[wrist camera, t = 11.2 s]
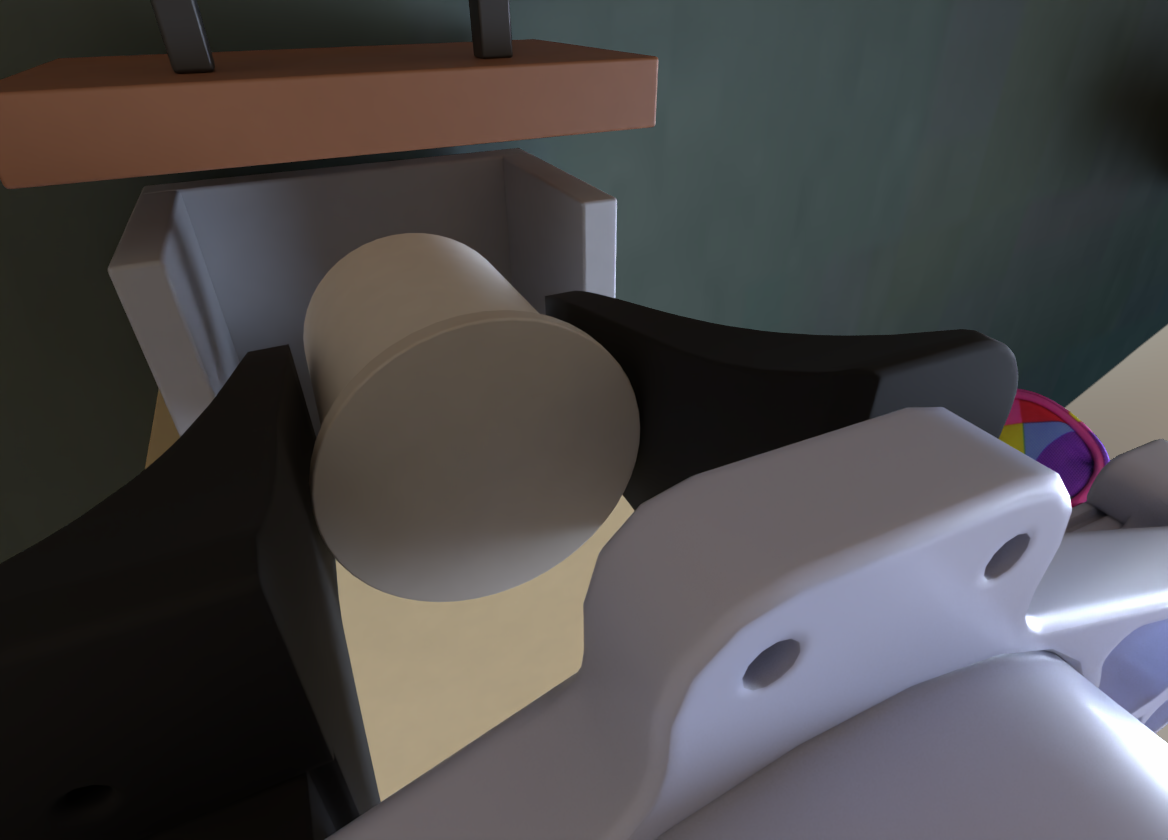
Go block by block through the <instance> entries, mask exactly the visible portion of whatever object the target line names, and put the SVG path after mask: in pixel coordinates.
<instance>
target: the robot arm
mask: <svg viewBox="0 0 1168 840" xmlns="http://www.w3.org/2000/svg"><path fill="white" fill-rule="evenodd" d="M545 312H546V315H547V316H551V317H554V318H557V319H559V320H562V321H564V322H567V323H570V324H571V325H573V326H575V327H577V328H578V329H580V330H582V331H584V332H585V333H587V334H588V335H589V336H591V337H592V338H593V339H594V340H596V341H597V342H598V343H599V344H601V345H602V346H603V347H604V348H605V349H606V350H607V351H608V352H609V353H610V354H611V355H612V356H613V358H614V359H615V360H616V361H617V362H618V363H619V364H620V366H621V367H622V369H623V371H624V372H625V374H626V375H627V377H628V379H629V381H630V383H631V386H632V388H633V391H634V393H635V396H636V401H637V405H638V409H639V418H640V441H639V448H638V453H637V459H636V462H635V465H634V469H633V472H632V475H631V478H630V480H629V482H628V484H627V486H626V489H625V491H624V493H623V496H624V498H625V499H626V500H627V501H628V503H629V504H630V505H631V507H632V508H633V509H634V512H633V514H632V515H631V516H630V517H629V518H628V519H627V520H626V522H625V523H624V524H623V525H622V526H621V527H620V528H619V530H618V531H617V532H616V533H615V534H614V535H613V536H612V538H611V539H610V540H609V541H608V542H607V543H606V544H605V546H604V547H603V548H602V550H601V551H600V553H599V555H598V558H597V561H596V564H595V568H594V571H593V574H592V577H591V581H590V584H589V587H588V591H587V594H586V597H585V600H584V604H583V615H584V653H583V659H582V665H581V668H580V669H579V671H578V672H577V673H575V674H574V675H572V676H571V677H569V678H568V679H566V680H565V681H563V682H562V683H560V684H559V685H557V686H555V687H554V688H552V689H551V690H549V691H548V692H546V693H545V694H543V695H542V696H540V697H539V698H537V699H536V700H534V701H533V702H531V703H530V704H528V705H527V706H525V707H524V708H522V709H521V710H519V711H518V712H516V713H515V714H513V715H512V716H510V717H509V718H507V719H506V720H504V721H503V722H501V723H500V724H498V725H497V726H495V727H494V728H492V729H491V730H489V731H488V732H486V733H485V734H483V735H481V736H480V737H478V738H477V739H475V740H474V741H472V742H471V743H469V744H468V745H466V746H465V747H463V748H462V749H460V750H459V751H457V752H456V753H454V754H453V755H451V756H450V757H448V758H447V759H445V760H444V761H442V762H441V763H439V764H438V765H436V766H435V767H433V768H432V769H430V770H429V771H427V772H426V773H424V774H423V775H421V776H420V777H418V778H417V779H415V780H414V781H412V782H411V783H409V784H407V785H406V786H404V787H403V788H401V789H400V790H398V791H397V792H395V793H394V794H392V795H391V796H389V797H388V798H386V799H385V800H383V801H382V802H381V801H380V796H379V792H378V787H377V782H376V778H375V773H374V769H373V764H372V760H371V755H370V751H369V746H368V741H367V737H366V732H365V728H364V723H363V718H362V714H361V709H360V704H359V700H358V695H357V690H356V686H355V681H354V676H353V671H352V667H351V662H350V657H349V652H348V647H347V642H346V638H345V633H344V628H343V623H342V617H341V610H340V602H339V594H338V582H337V570H336V559H335V557H334V556H333V555H332V553H331V552H330V551H329V549H328V548H327V546H326V545H325V543H324V541H323V539H322V537H321V535H320V533H319V531H318V527H317V524H316V521H315V518H314V514H313V509H312V503H311V495H310V486H309V477H310V462H311V458H312V453H313V449H314V444H315V441H316V435H315V431H314V428H313V425H312V421H311V418H310V414H309V411H308V408H307V404H306V401H305V397H304V394H303V391H302V387H301V384H300V380H299V377H298V374H297V370H296V367H295V363H294V360H293V357H292V353H291V350H290V346H289V344H287V345H282V346H276V347H271V348H266V349H260V350H255V351H250V352H247V354H246V355H245V356H244V358H243V359H242V360H241V362H240V363H239V364H238V366H237V367H236V369H235V370H234V372H233V373H232V374H231V376H230V377H229V379H228V380H227V381H226V383H225V384H224V386H223V387H222V389H221V390H220V391H219V393H218V394H217V395H216V396H215V398H214V399H213V400H212V402H211V403H210V404H209V406H208V407H207V408H206V409H205V410H204V411H203V412H202V413H201V414H200V416H199V417H198V418H197V419H196V420H195V421H194V422H193V423H192V425H191V426H190V427H189V428H188V429H187V430H186V431H185V432H184V433H183V435H182V436H181V437H180V438H179V439H178V440H177V441H176V442H175V443H174V444H173V445H172V446H171V447H170V448H169V449H168V450H166V451H165V452H164V453H163V454H162V455H161V456H160V457H159V458H158V459H157V460H155V461H154V462H153V463H152V464H151V465H149V466H148V467H147V468H146V469H145V470H144V471H142V472H141V473H140V474H139V475H138V476H136V477H135V478H134V479H133V480H131V481H130V482H129V483H128V484H126V485H125V486H123V487H122V488H120V489H119V490H118V491H116V492H115V493H113V494H112V495H111V496H109V497H108V498H106V499H105V500H103V501H102V502H101V503H99V504H98V505H96V506H95V507H94V508H92V509H91V510H89V511H88V512H86V513H85V514H84V515H82V516H81V517H79V518H78V519H76V520H75V521H73V522H72V523H70V524H68V525H67V526H65V527H63V528H62V529H60V530H59V531H57V532H55V533H54V534H52V535H50V536H49V537H47V538H45V539H44V540H42V541H40V542H39V543H37V544H35V545H33V546H31V547H30V548H28V549H26V550H24V551H23V552H21V553H19V554H17V555H15V556H14V557H12V558H10V559H8V560H6V561H5V562H3V563H1V564H0V840H1168V743H1166V742H1165V741H1164V740H1163V739H1161V738H1160V737H1159V736H1158V735H1156V734H1155V733H1157V732H1158V731H1159V730H1161V729H1162V728H1163V727H1165V726H1166V725H1167V724H1168V441H1166V440H1164V439H1158V440H1154V441H1151V442H1149V443H1147V444H1144V445H1142V446H1139V447H1137V448H1135V449H1132V450H1130V451H1127V452H1125V453H1123V454H1120V455H1118V456H1116V457H1115V458H1113V459H1112V460H1110V461H1109V462H1108V463H1107V464H1106V465H1105V466H1104V467H1103V468H1102V470H1101V471H1100V472H1099V474H1098V475H1097V477H1096V478H1095V480H1094V482H1093V484H1092V486H1091V488H1090V490H1089V492H1088V494H1087V502H1084V503H1082V504H1080V505H1077V506H1075V507H1073V508H1072V506H1071V501H1070V496H1069V494H1068V492H1067V490H1066V488H1065V486H1064V484H1063V482H1062V480H1061V478H1060V476H1059V474H1058V473H1056V472H1055V471H1053V470H1051V469H1050V468H1048V467H1046V466H1044V465H1043V464H1041V463H1039V462H1037V461H1036V460H1034V459H1032V458H1030V457H1029V456H1027V455H1025V454H1023V453H1022V452H1020V451H1018V450H1017V449H1015V448H1013V447H1011V446H1010V445H1008V444H1006V443H1004V442H1003V441H1001V440H999V437H1000V435H1001V432H1002V430H1003V427H1004V425H1005V423H1006V420H1007V418H1008V416H1009V413H1010V411H1011V408H1012V405H1013V402H1014V399H1015V396H1016V393H1017V385H1018V369H1017V364H1016V359H1015V355H1014V354H1013V352H1012V351H1011V350H1010V349H1009V348H1008V347H1007V345H1006V344H1003V343H1001V342H999V341H997V340H995V339H993V338H990V337H988V336H986V335H984V334H982V333H979V332H977V331H974V330H965V329H959V330H947V331H934V332H922V333H909V334H897V335H862V336H832V335H807V334H791V333H778V332H768V331H759V330H752V329H745V328H738V327H731V326H725V325H720V324H714V323H709V322H705V321H700V320H696V319H691V318H687V317H682V316H678V315H674V314H670V313H666V312H663V311H659V310H655V309H652V308H648V307H644V306H641V305H637V304H634V303H630V302H626V301H623V300H619V299H616V298H612V297H608V296H604V295H600V294H596V293H591V292H586V291H576V290H575V291H569V292H564V293H559V294H553V295H548V296H545Z"/></svg>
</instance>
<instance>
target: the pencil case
mask: <svg viewBox="0 0 1168 840" xmlns="http://www.w3.org/2000/svg"><path fill="white" fill-rule="evenodd" d="M999 440H1001V441H1003V442H1004V443H1006V444H1008V445H1010V446H1011V447H1013V448H1015V449H1017V450H1018V451H1020V452H1022V453H1023V454H1025V455H1027V456H1029V457H1030V458H1032V459H1034V460H1036V461H1037V462H1039V463H1041V464H1043V465H1044V466H1046V467H1048V468H1050V469H1051V470H1053V471H1055V472H1056V473H1058V474H1059V476H1060V478H1061V480H1062V482H1063V484H1064V486H1065V488H1066V490H1067V492H1068V494H1069V496H1070V501H1071V506H1072V508H1073V507H1075V506H1077V505H1080V504H1082V503H1084V502H1087V494H1088V492H1089V490H1090V488H1091V486H1092V484H1093V482H1094V480H1095V478H1096V477H1097V475H1098V474H1099V472H1100V471H1101V470H1102V468H1103V467H1104V466H1105V465H1106V464H1107V463H1108V462H1109V461H1110V459H1109V456H1108V454H1107V452H1106V449H1105V447H1104V445H1103V444H1102V443H1101V441H1100V440H1099V439H1098V438H1097V437H1096V435H1095V434H1094V433H1093V432H1092V431H1091V430H1090V429H1089V428H1088V427H1087V426H1086V425H1085V424H1084V423H1083V422H1082V421H1081V420H1079V419H1078V418H1077V417H1076V416H1075V415H1073V414H1072V413H1071V412H1070V411H1068V410H1066V409H1065V408H1064V407H1062V406H1060V405H1059V404H1057V403H1056V402H1054V401H1052V400H1050V399H1048V398H1046V397H1045V396H1042V395H1040V394H1037V393H1035V392H1031V391H1027V390H1022V389H1017V393H1016V396H1015V399H1014V402H1013V405H1012V408H1011V411H1010V413H1009V416H1008V418H1007V420H1006V423H1005V425H1004V427H1003V430H1002V432H1001V435H1000V437H999Z"/></svg>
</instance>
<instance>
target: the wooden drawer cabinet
mask: <svg viewBox="0 0 1168 840" xmlns="http://www.w3.org/2000/svg"><path fill="white" fill-rule="evenodd" d="M179 438H180V436H179V433H178V431H177V429H176V427H175V424H174V422H173V420H172V417H171V415H170V413H169V411H168V408H167V406H166V404H165V401H164V399H163V397H162V395H161V392H160V390H158V396H157V402H156V408H155V413H154V419H153V425H152V431H151V437H150V442H149V448H148V454H147V460H146V466H145V469H146V468H147V467H148V466H149V465H151V464H152V463H153V462H154V461H155V460H157V459H158V458H159V457H160V456H161V455H162V454H163V453H164V452H165V451H166V450H168V449H169V448H170V447H171V446H172V445H173V444H174V443H175V442H176V441H177V440H178V439H179ZM633 512H634V509H633V508H632V507H631V505H630V504H629V503H628V501H627V500H626V499H625V498H624V496H623V495H622V496H621V498H620V500H619V501H618V503H617V505H616V506H615V508H614V509H613V511H612V512H611V514H610V515H609V516H608V518H607V519H606V520H605V522H604V523H603V524H602V525H601V526H600V527H599V529H598V530H597V531H596V532H595V533H594V534H593V535H592V536H591V537H590V538H589V539H588V540H587V541H586V542H585V543H584V544H583V545H582V546H581V547H580V548H579V549H578V550H576V551H575V552H574V553H572V554H571V555H570V556H569V557H567V558H566V559H565V560H564V561H562V562H561V563H559V564H558V565H556V566H555V567H553V568H551V569H550V570H548V571H547V572H545V573H543V574H541V575H539V576H538V577H536V578H534V579H532V580H530V581H528V582H526V583H523V584H521V585H519V586H516V587H514V588H511V589H508V590H506V591H503V592H500V593H497V594H493V595H489V596H485V597H481V598H477V599H470V600H463V601H454V602H427V601H416V600H411V599H405V598H400V597H397V596H394V595H390V594H387V593H384V592H382V591H380V590H377V589H375V588H373V587H371V586H369V585H367V584H365V583H364V582H362V581H361V580H359V579H358V578H356V577H355V576H353V575H352V574H351V573H350V572H349V571H347V570H346V569H345V568H344V567H343V566H342V565H341V564H340V563H339V562H338V561H337V560H336V570H337V582H338V594H339V602H340V610H341V617H342V623H343V628H344V633H345V638H346V642H347V647H348V652H349V657H350V662H351V667H352V671H353V676H354V681H355V686H356V690H357V695H358V700H359V704H360V709H361V714H362V718H363V723H364V728H365V732H366V737H367V741H368V746H369V751H370V755H371V760H372V764H373V769H374V773H375V778H376V782H377V787H378V792H379V796H380V801H381V802H382V801H383V800H385V799H386V798H388V797H389V796H391V795H392V794H394V793H395V792H397V791H398V790H400V789H401V788H403V787H404V786H406V785H407V784H409V783H411V782H412V781H414V780H415V779H417V778H418V777H420V776H421V775H423V774H424V773H426V772H427V771H429V770H430V769H432V768H433V767H435V766H436V765H438V764H439V763H441V762H442V761H444V760H445V759H447V758H448V757H450V756H451V755H453V754H454V753H456V752H457V751H459V750H460V749H462V748H463V747H465V746H466V745H468V744H469V743H471V742H472V741H474V740H475V739H477V738H478V737H480V736H481V735H483V734H485V733H486V732H488V731H489V730H491V729H492V728H494V727H495V726H497V725H498V724H500V723H501V722H503V721H504V720H506V719H507V718H509V717H510V716H512V715H513V714H515V713H516V712H518V711H519V710H521V709H522V708H524V707H525V706H527V705H528V704H530V703H531V702H533V701H534V700H536V699H537V698H539V697H540V696H542V695H543V694H545V693H546V692H548V691H549V690H551V689H552V688H554V687H555V686H557V685H559V684H560V683H562V682H563V681H565V680H566V679H568V678H569V677H571V676H572V675H574V674H575V673H577V672H578V671H579V669H580V668H581V665H582V659H583V653H584V615H583V604H584V600H585V597H586V594H587V591H588V587H589V584H590V581H591V577H592V574H593V571H594V568H595V564H596V561H597V558H598V555H599V553H600V551H601V550H602V548H603V547H604V546H605V544H606V543H607V542H608V541H609V540H610V539H611V538H612V536H613V535H614V534H615V533H616V532H617V531H618V530H619V528H620V527H621V526H622V525H623V524H624V523H625V522H626V520H627V519H628V518H629V517H630V516H631V515H632V514H633Z"/></svg>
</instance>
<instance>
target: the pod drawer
mask: <svg viewBox="0 0 1168 840" xmlns="http://www.w3.org/2000/svg"><path fill="white" fill-rule="evenodd" d="M150 1H151V4H152V8H153V11H154V14H155V17H156V20H157V23H158V26H159V29H160V32H161V36H162V39H163V42H164V45H165V48H166V51H167V54H154V55H129V56H104V57H79V58H58V59H55V60H53V61H50V62H47V63H45V64H42V65H39V66H36V67H34V68H31V69H28V70H26V71H23V72H20V73H18V74H15V75H12V76H10V77H7V78H4V79H1V80H0V179H1V181H2V184H3V185H4V186H5V187H6V188H8V189H18V188H28V187H38V186H49V185H59V184H69V183H80V182H90V181H100V180H111V179H121V178H131V177H142V176H152V175H162V174H173V173H183V172H193V171H204V170H214V169H224V168H235V167H245V166H255V165H266V164H276V163H286V162H297V161H307V160H317V159H328V158H338V157H348V156H359V155H369V154H379V153H390V152H400V151H411V150H421V149H431V148H442V147H452V146H462V145H473V144H483V143H493V142H504V141H514V140H524V139H535V138H545V137H555V136H566V135H576V134H586V133H597V132H607V131H617V130H628V129H638V128H648V127H653V126H655V122H656V100H657V79H658V58H657V57H655V56H648V55H641V54H634V53H627V52H620V51H613V50H606V49H599V48H592V47H585V46H578V45H571V44H564V43H556V42H549V41H542V40H535V39H530V40H512V35H511V19H510V3H509V0H469V8H470V19H471V30H472V41H473V42H455V43H430V44H405V45H380V46H354V47H329V48H304V49H279V50H254V51H229V52H211V48H210V45H209V42H208V38H207V35H206V31H205V28H204V24H203V21H202V17H201V14H200V10H199V7H198V3H197V0H150ZM616 223H617V200H616V198H614V197H613V196H611V195H609V194H607V193H605V192H603V191H601V190H599V189H597V188H595V187H593V186H591V185H589V184H587V183H586V182H584V181H582V180H580V179H578V178H576V177H574V176H572V175H570V174H568V173H566V172H564V171H562V170H561V169H559V168H557V167H555V166H553V165H551V164H549V163H547V162H545V161H543V160H541V159H539V158H537V157H536V156H534V155H532V154H529V153H527V152H525V151H523V150H522V149H519V148H514V149H505V150H495V151H485V152H475V153H465V154H455V155H445V156H435V157H426V158H416V159H406V160H396V161H386V162H376V163H366V164H356V165H347V166H337V167H327V168H317V169H307V170H297V171H287V172H277V173H268V174H258V175H248V176H238V177H228V178H218V179H208V180H198V181H189V182H179V183H169V184H159V185H149V186H145V187H143V189H142V192H141V194H140V196H139V198H138V200H137V202H136V205H135V207H134V209H133V212H132V214H131V216H130V219H129V221H128V223H127V225H126V228H125V230H124V232H123V235H122V237H121V239H120V241H119V244H118V246H117V248H116V251H115V253H114V255H113V258H112V260H111V262H110V264H109V267H108V273H109V276H110V278H111V280H112V282H113V285H114V287H115V289H116V292H117V294H118V296H119V298H120V301H121V303H122V305H123V308H124V310H125V312H126V314H127V317H128V319H129V321H130V324H131V326H132V328H133V330H134V333H135V335H136V337H137V340H138V342H139V344H140V346H141V349H142V351H143V353H144V356H145V358H146V360H147V362H148V365H149V367H150V369H151V372H152V374H153V376H154V378H155V381H156V383H157V385H158V388H159V390H160V392H161V395H162V397H163V399H164V401H165V404H166V406H167V408H168V411H169V413H170V415H171V417H172V420H173V422H174V424H175V427H176V429H177V431H178V433H179V436H180V437H181V436H182V435H183V433H184V432H185V431H186V430H187V429H188V428H189V427H190V426H191V425H192V423H193V422H194V421H195V420H196V419H197V418H198V417H199V416H200V414H201V413H202V412H203V411H204V410H205V409H206V408H207V407H208V406H209V404H210V403H211V402H212V400H213V399H214V398H215V396H216V395H217V394H218V393H219V391H220V390H221V389H222V387H223V386H224V384H225V383H226V381H227V380H228V379H229V377H230V376H231V374H232V373H233V372H234V370H235V369H236V367H237V366H238V364H239V363H240V362H241V360H242V359H243V358H244V356H245V355H246V354H247V352H250V351H255V350H260V349H266V348H271V347H276V346H282V345H287V344H289V346H290V350H291V353H292V357H293V360H294V363H295V367H296V370H297V374H298V377H299V380H300V384H301V387H302V391H303V394H304V397H305V401H306V404H307V408H308V411H309V414H310V418H311V421H312V425H313V428H314V431H315V435H316V438H317V436H318V433H319V431H320V428H321V424H320V419H319V415H318V410H317V405H316V401H315V396H314V392H313V387H312V383H311V378H310V373H309V369H308V364H307V360H306V355H305V350H304V340H303V333H304V321H305V317H306V312H307V308H308V306H309V303H310V300H311V297H312V295H313V294H314V292H315V290H316V288H317V286H318V284H319V283H320V282H321V280H322V279H323V278H324V276H325V275H326V274H327V272H328V271H329V270H330V269H331V268H332V267H333V266H334V265H335V264H336V263H337V262H338V261H340V260H341V259H342V258H344V257H345V256H346V255H347V254H349V253H350V252H352V251H353V250H355V249H357V248H359V247H361V246H362V245H364V244H367V243H369V242H371V241H374V240H376V239H379V238H383V237H387V236H391V235H396V234H404V233H426V234H434V235H439V236H443V237H447V238H450V239H453V240H455V241H458V242H460V243H462V244H465V245H466V246H468V247H470V248H471V249H473V250H475V251H476V252H478V253H479V254H480V255H481V256H483V257H484V258H485V259H486V260H487V261H488V262H489V263H490V264H491V265H492V266H493V267H494V268H495V269H496V270H497V271H498V272H499V273H500V274H501V275H502V276H503V277H504V278H505V279H506V280H507V281H508V282H509V283H510V284H511V285H512V286H513V287H514V288H515V289H516V290H517V291H518V292H519V293H520V294H521V295H522V296H523V297H524V298H525V299H526V300H527V301H528V302H529V303H530V305H531V306H532V307H533V308H534V309H535V310H536V311H537V312H538V313H539V314H543V315H546V312H545V296H548V295H553V294H559V293H564V292H569V291H575V290H576V291H586V292H591V293H596V294H600V295H604V296H608V297H612V298H615V281H616Z"/></svg>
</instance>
